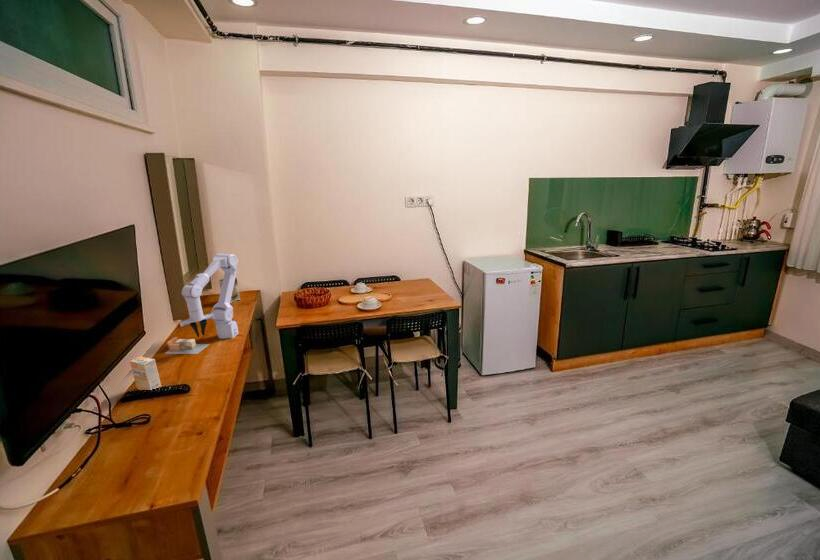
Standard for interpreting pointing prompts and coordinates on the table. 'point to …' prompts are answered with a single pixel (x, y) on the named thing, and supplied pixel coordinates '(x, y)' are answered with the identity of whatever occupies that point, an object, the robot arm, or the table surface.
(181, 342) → the beige rectangular block
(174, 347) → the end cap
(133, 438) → the table surface
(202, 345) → the board
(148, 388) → the supplement box
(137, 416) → the table surface
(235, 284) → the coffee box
